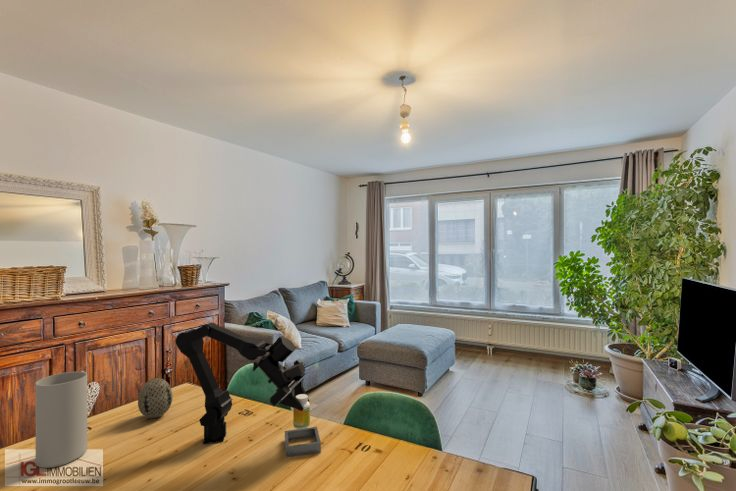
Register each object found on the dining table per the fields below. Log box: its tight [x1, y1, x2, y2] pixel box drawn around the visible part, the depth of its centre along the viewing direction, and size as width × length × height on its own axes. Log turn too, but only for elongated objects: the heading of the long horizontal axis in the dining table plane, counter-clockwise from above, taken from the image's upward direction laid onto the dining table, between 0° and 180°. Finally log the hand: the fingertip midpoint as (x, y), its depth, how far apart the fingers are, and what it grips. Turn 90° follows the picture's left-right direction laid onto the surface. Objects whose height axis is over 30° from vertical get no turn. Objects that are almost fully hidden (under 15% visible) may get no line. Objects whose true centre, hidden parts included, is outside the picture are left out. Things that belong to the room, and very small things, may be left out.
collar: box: [284, 426, 322, 459], centre depth 119 cm, size 11×11×3 cm
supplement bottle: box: [292, 394, 311, 430], centre depth 120 cm, size 5×5×10 cm
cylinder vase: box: [35, 371, 88, 469], centre depth 114 cm, size 12×12×25 cm
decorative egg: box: [137, 377, 174, 419], centre depth 141 cm, size 12×12×15 cm
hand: (305, 406), depth 119 cm, fingers closed on supplement bottle, 5 cm apart
